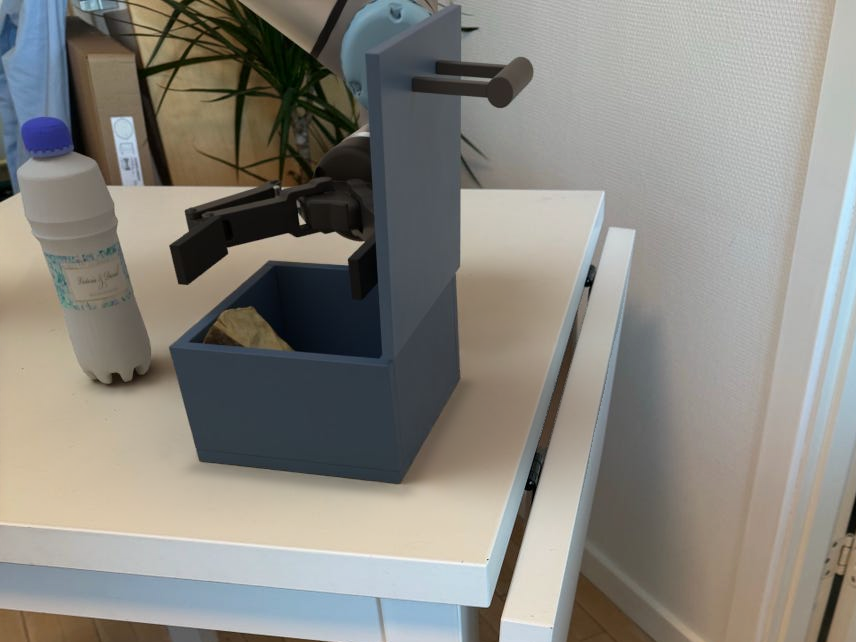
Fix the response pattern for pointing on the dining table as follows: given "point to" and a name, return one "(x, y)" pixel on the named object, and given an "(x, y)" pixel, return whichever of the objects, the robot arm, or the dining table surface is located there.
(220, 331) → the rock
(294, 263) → the blue-grey open box
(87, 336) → the bottle
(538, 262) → the dining table surface
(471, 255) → the dining table surface
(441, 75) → the lid
